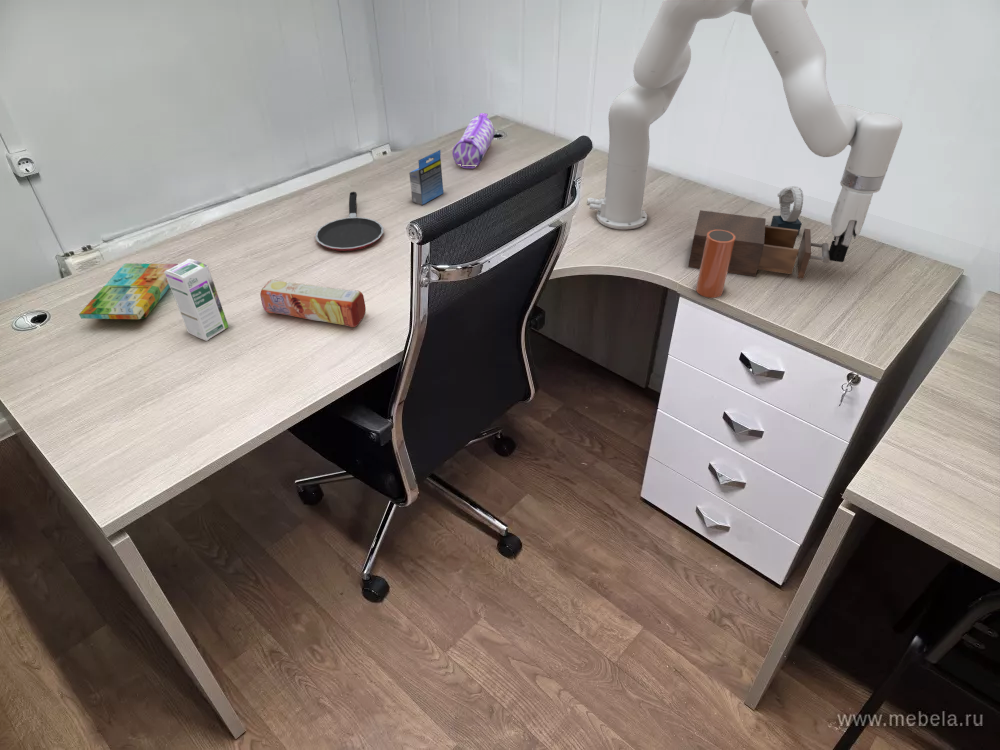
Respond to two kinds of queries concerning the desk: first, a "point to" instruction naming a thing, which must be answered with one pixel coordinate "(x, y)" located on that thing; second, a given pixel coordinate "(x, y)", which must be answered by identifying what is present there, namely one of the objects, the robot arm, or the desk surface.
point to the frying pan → (349, 231)
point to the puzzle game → (129, 293)
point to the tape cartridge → (427, 179)
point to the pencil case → (474, 142)
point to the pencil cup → (715, 263)
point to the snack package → (314, 302)
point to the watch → (787, 217)
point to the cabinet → (745, 245)
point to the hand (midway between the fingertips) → (835, 259)
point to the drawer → (788, 251)
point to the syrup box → (197, 299)
